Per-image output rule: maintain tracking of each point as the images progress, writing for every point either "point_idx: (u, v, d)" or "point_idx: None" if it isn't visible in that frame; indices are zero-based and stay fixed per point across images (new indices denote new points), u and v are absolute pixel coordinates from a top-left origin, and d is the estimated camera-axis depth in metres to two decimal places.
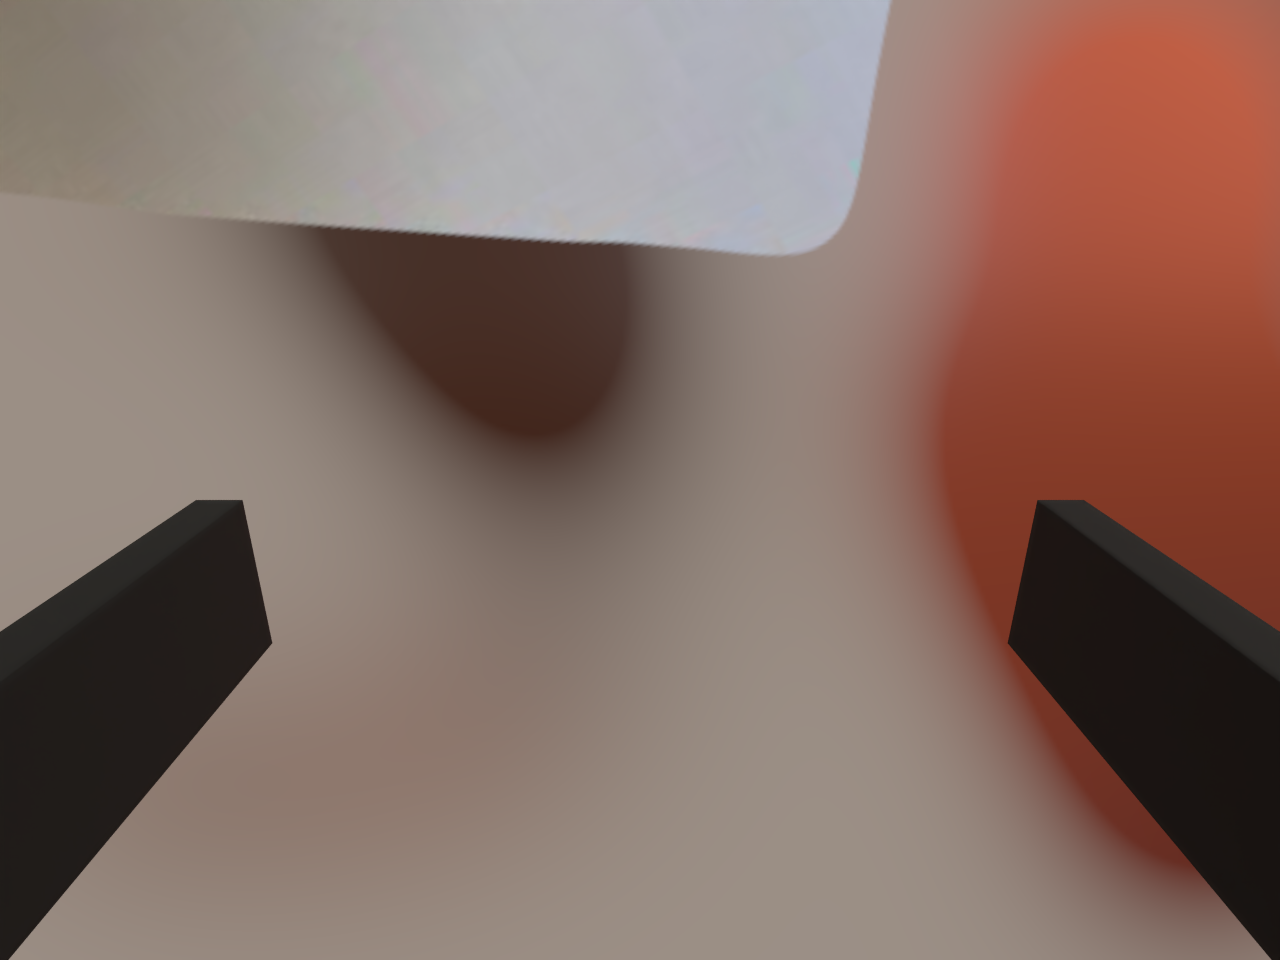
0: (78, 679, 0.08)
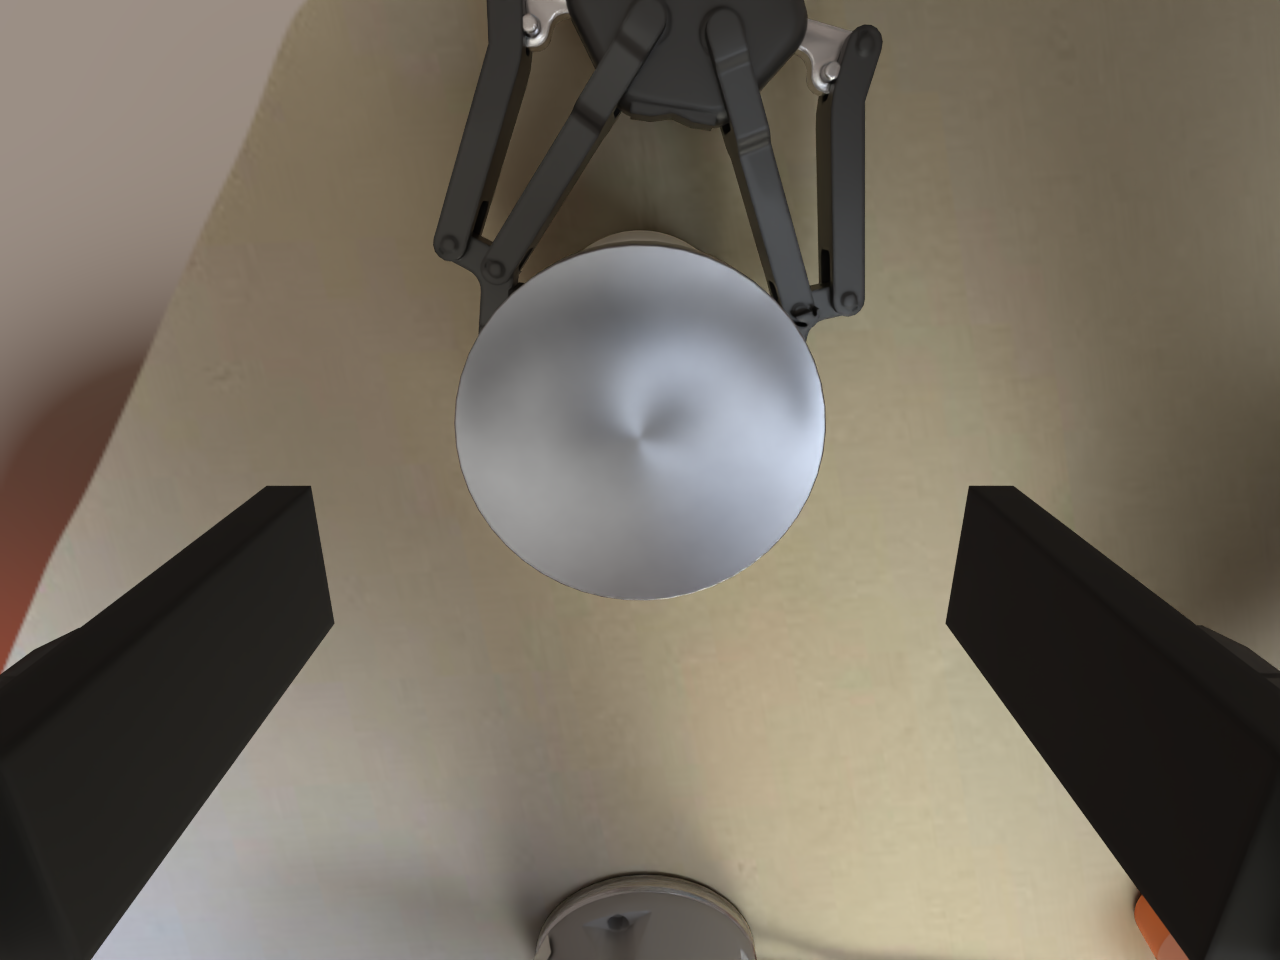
0: (184, 647, 0.09)
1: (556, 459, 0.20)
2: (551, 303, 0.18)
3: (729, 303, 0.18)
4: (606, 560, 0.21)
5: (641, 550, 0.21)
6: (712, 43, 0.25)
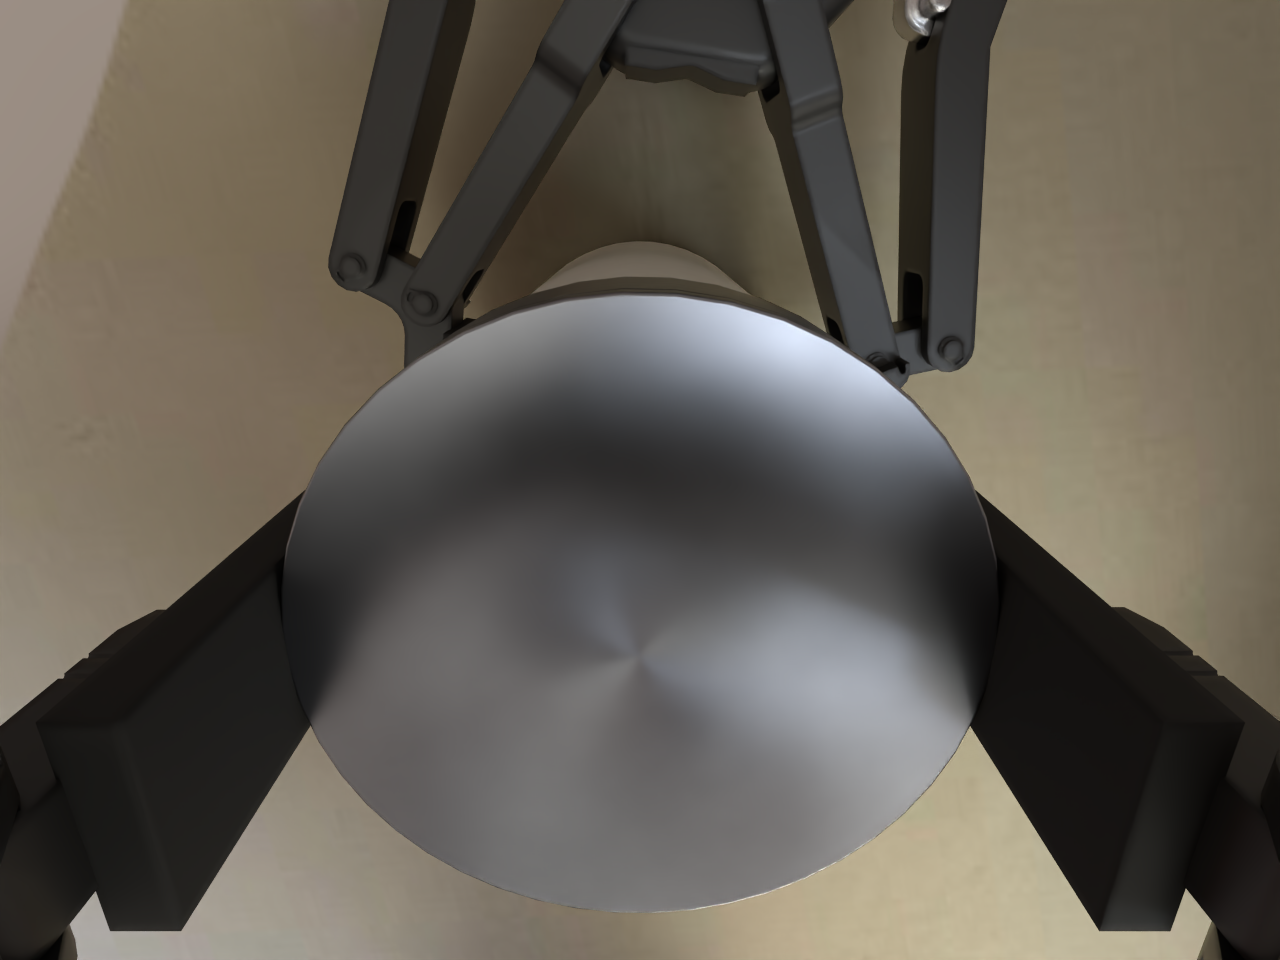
0: (262, 627, 0.09)
1: (481, 691, 0.10)
2: (457, 409, 0.09)
3: (823, 410, 0.09)
4: (578, 853, 0.11)
5: (642, 837, 0.11)
6: None
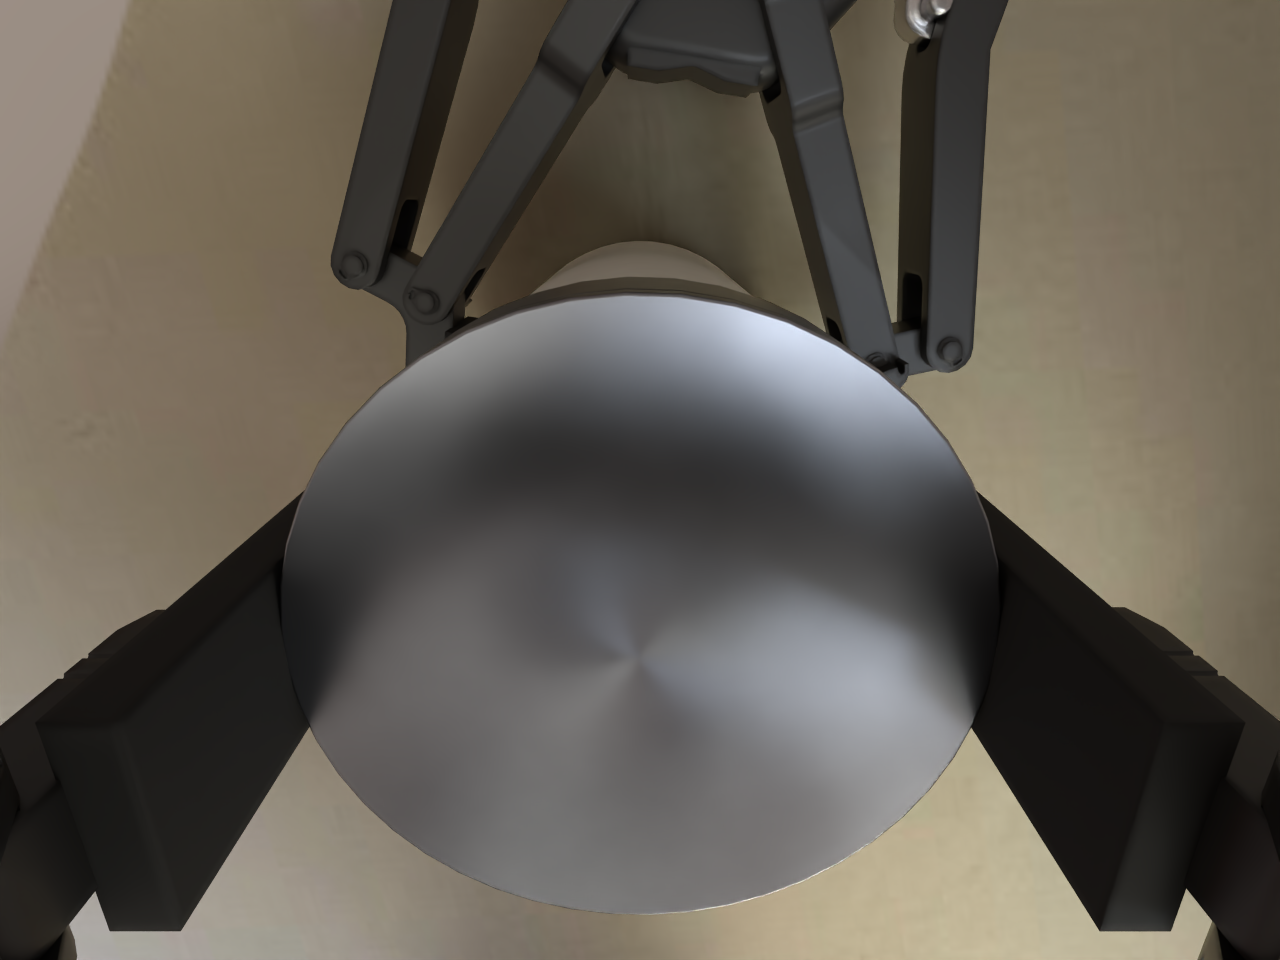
0: (261, 627, 0.09)
1: (734, 766, 0.11)
2: (483, 844, 0.11)
3: (335, 610, 0.10)
4: (913, 628, 0.10)
5: (871, 575, 0.10)
6: None
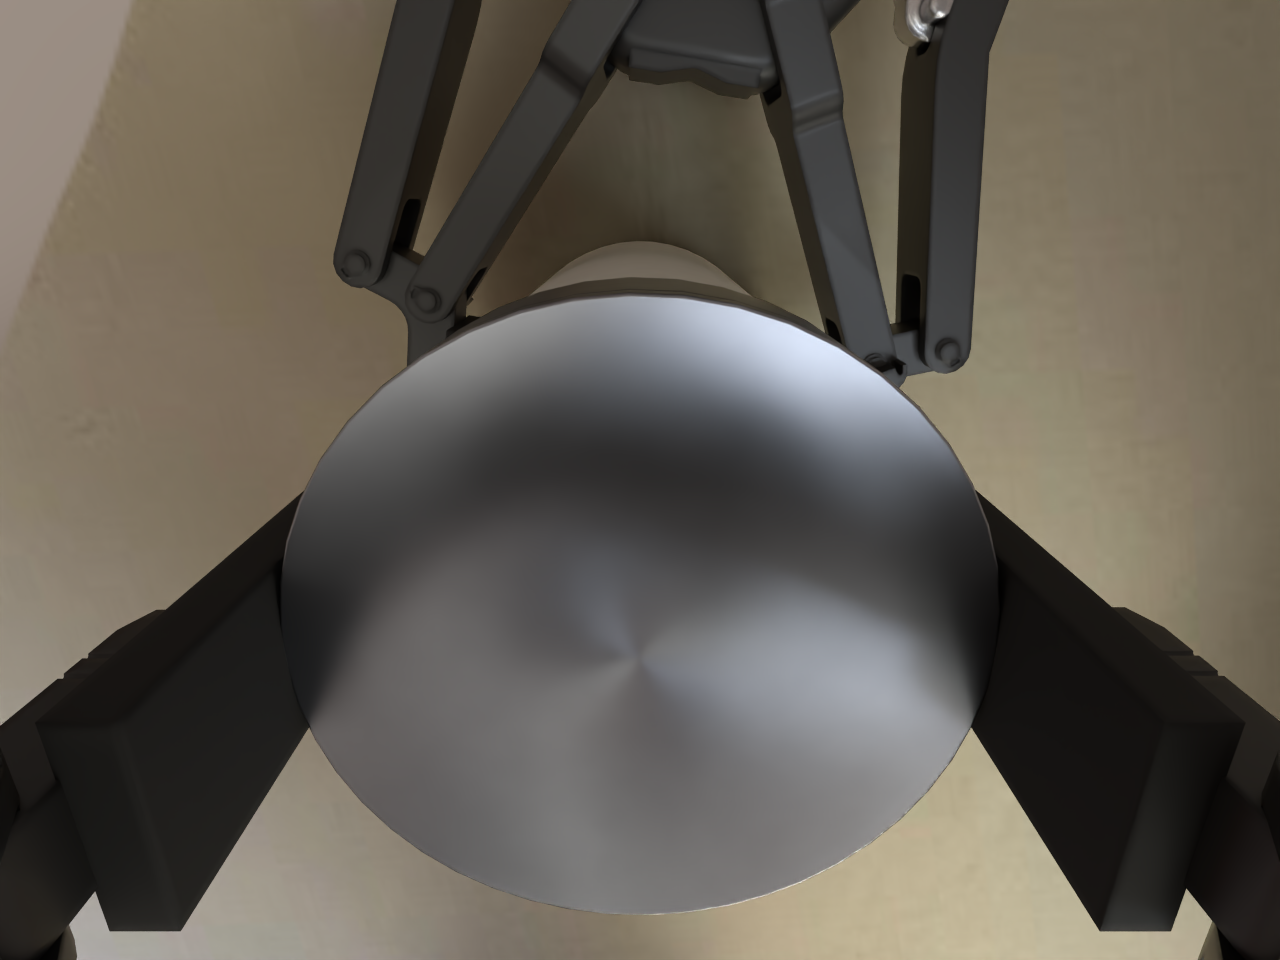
0: (261, 627, 0.09)
1: (734, 527, 0.09)
2: (922, 717, 0.10)
3: (693, 877, 0.12)
4: (490, 431, 0.09)
5: (456, 500, 0.09)
6: None
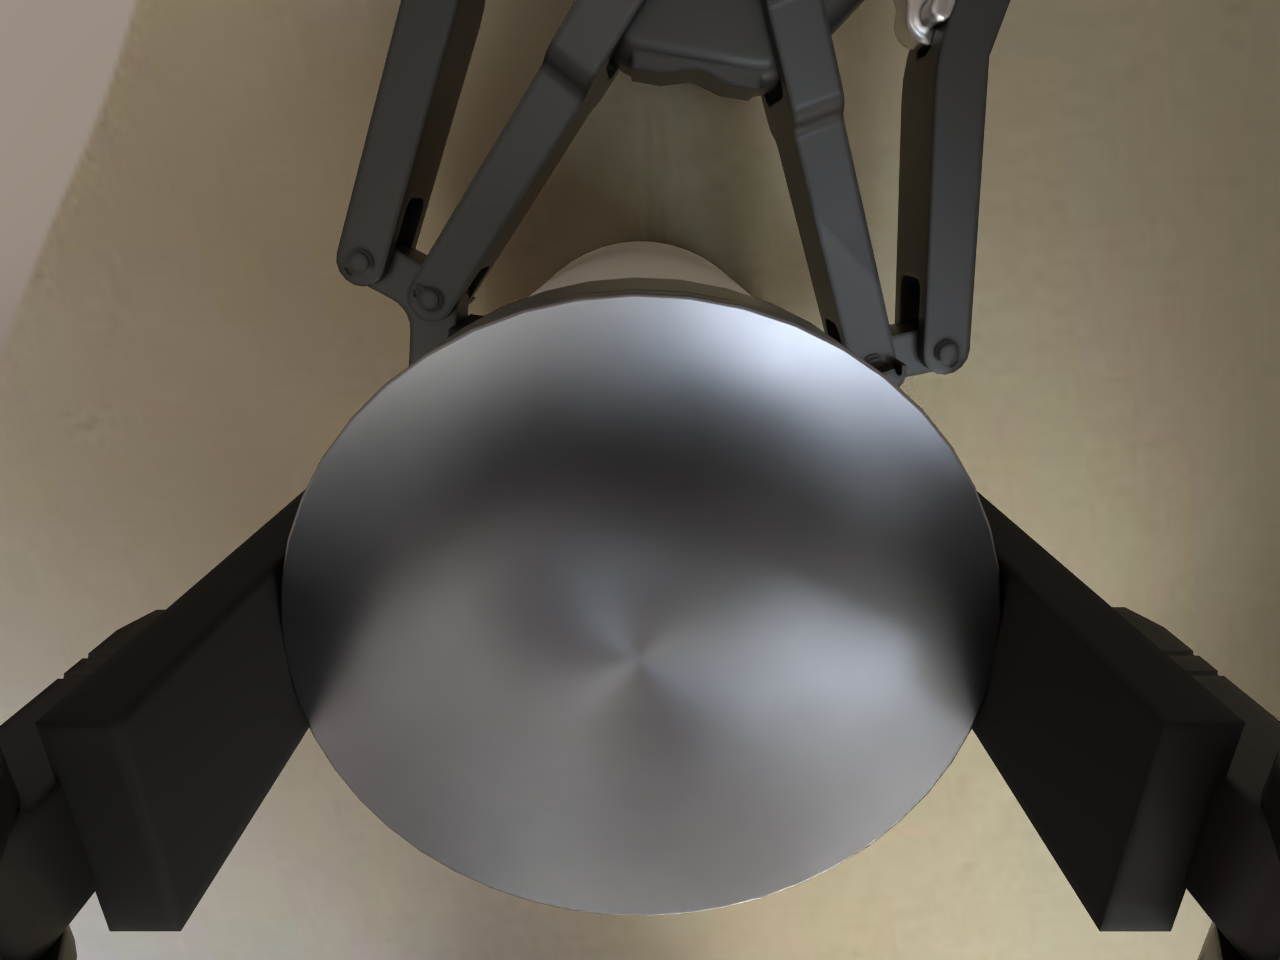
0: (261, 627, 0.09)
1: (472, 635, 0.10)
2: (590, 363, 0.09)
3: (913, 504, 0.09)
4: (486, 821, 0.11)
5: (554, 826, 0.11)
6: None
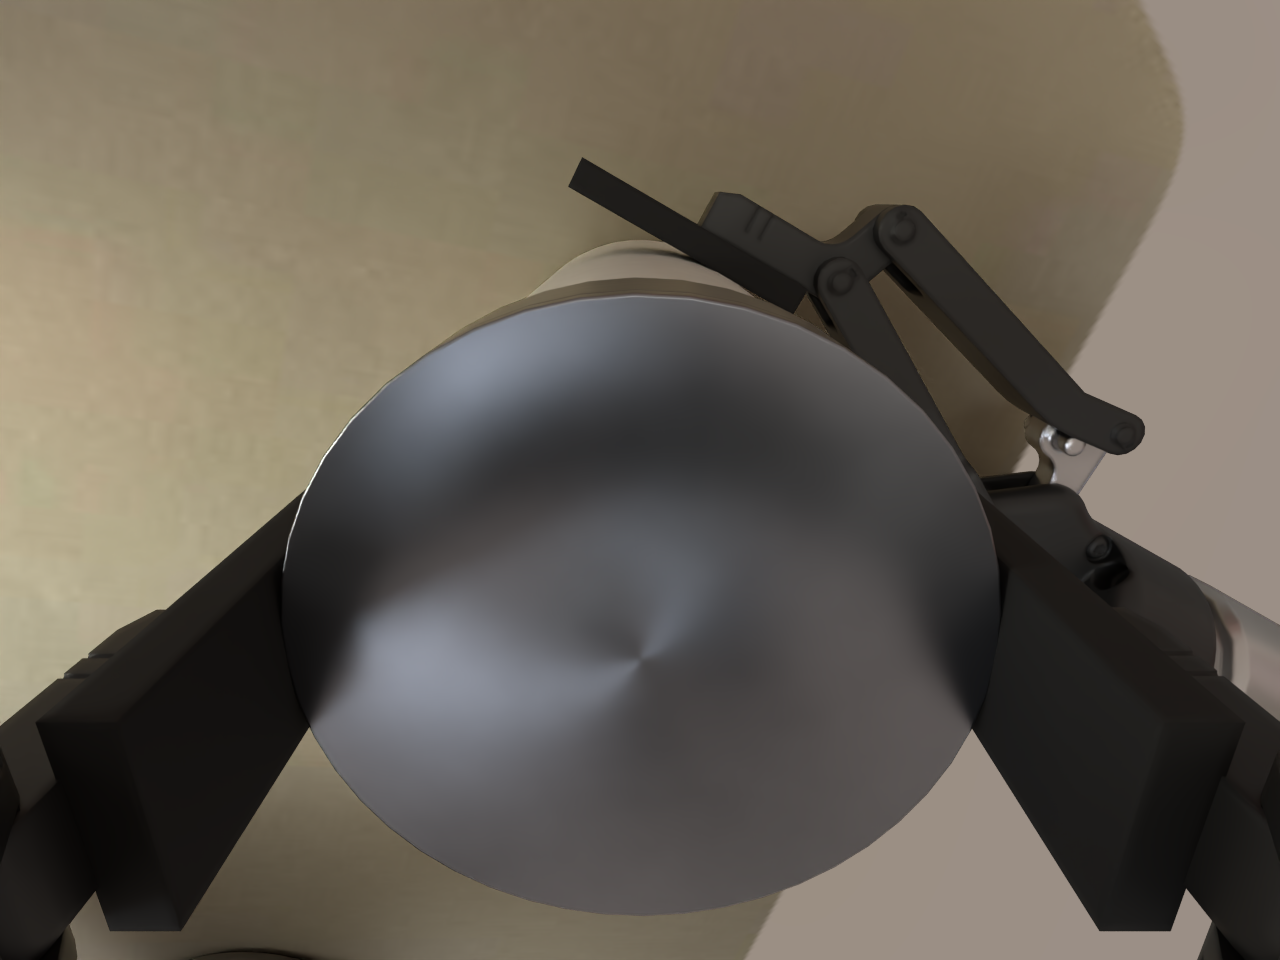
0: (261, 627, 0.09)
1: (472, 634, 0.10)
2: (591, 363, 0.09)
3: (913, 504, 0.09)
4: (486, 820, 0.11)
5: (554, 826, 0.11)
6: None
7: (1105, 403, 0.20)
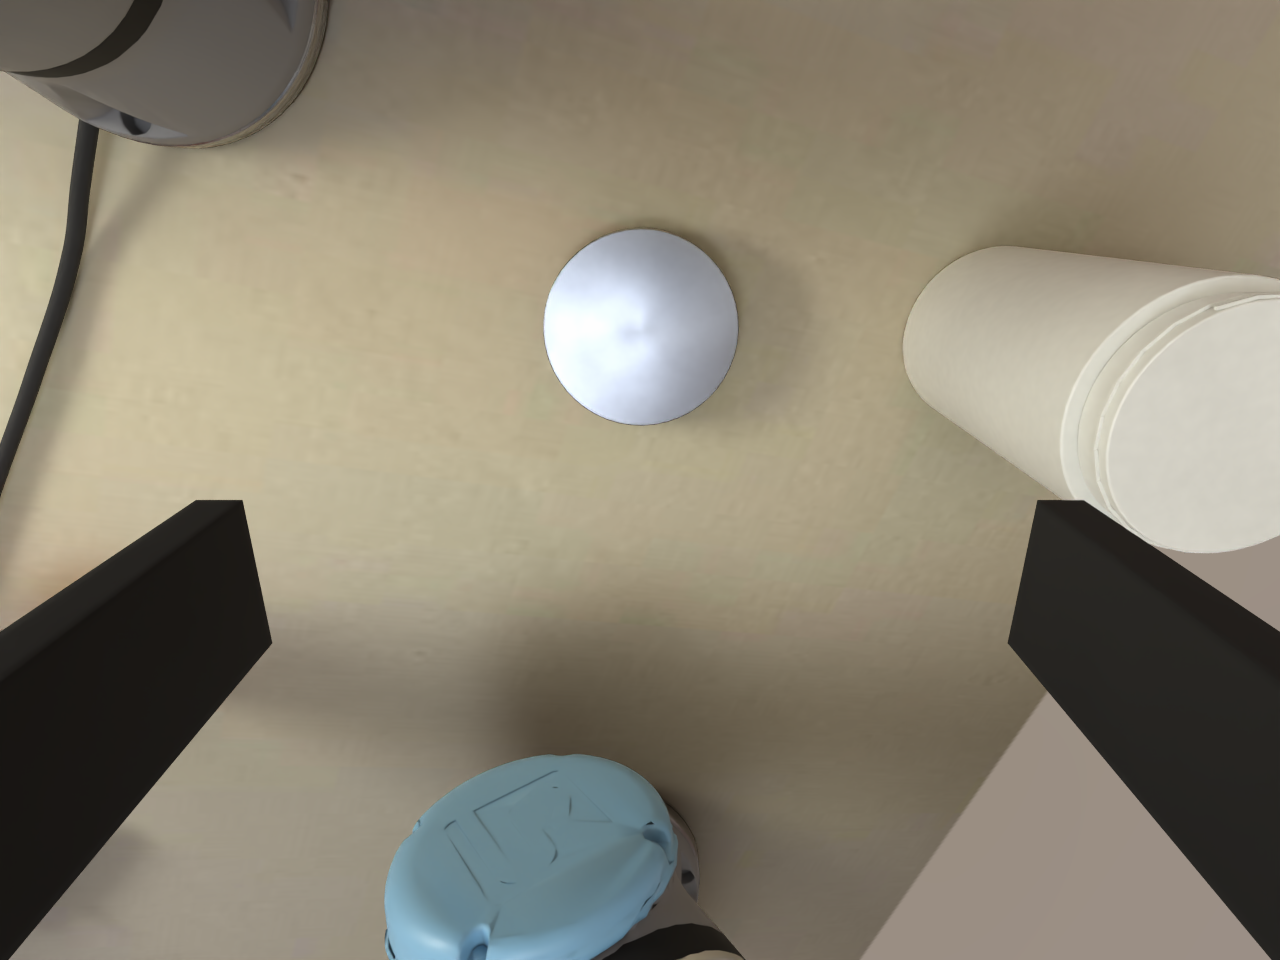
0: (78, 679, 0.08)
1: (595, 324, 0.37)
2: (628, 246, 0.35)
3: (711, 284, 0.36)
4: (595, 388, 0.38)
5: (615, 390, 0.38)
6: None
7: None
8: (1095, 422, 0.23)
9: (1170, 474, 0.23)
